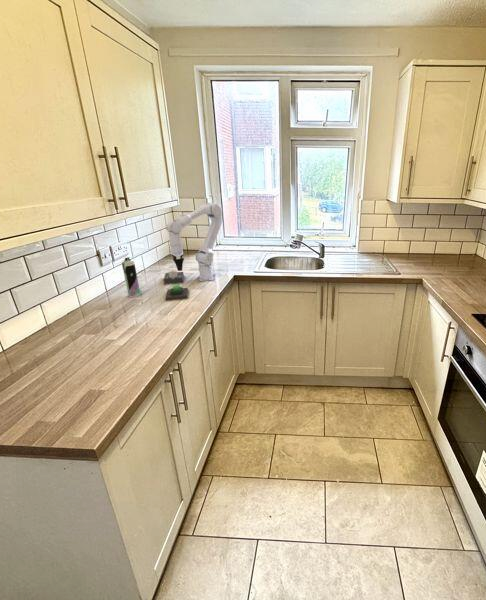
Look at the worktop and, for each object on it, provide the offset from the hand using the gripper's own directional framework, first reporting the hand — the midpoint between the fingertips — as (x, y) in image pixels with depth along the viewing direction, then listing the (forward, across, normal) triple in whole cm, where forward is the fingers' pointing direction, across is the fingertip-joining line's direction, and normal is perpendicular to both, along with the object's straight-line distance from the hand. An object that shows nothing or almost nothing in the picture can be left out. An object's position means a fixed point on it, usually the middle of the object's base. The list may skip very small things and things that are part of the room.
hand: (179, 268), depth 174 cm
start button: (+7, +16, -3) cm, 18 cm away
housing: (+10, +16, -3) cm, 19 cm away
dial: (+7, -7, -4) cm, 10 cm away
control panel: (+10, -10, -3) cm, 14 cm away
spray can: (+10, +8, -24) cm, 27 cm away
